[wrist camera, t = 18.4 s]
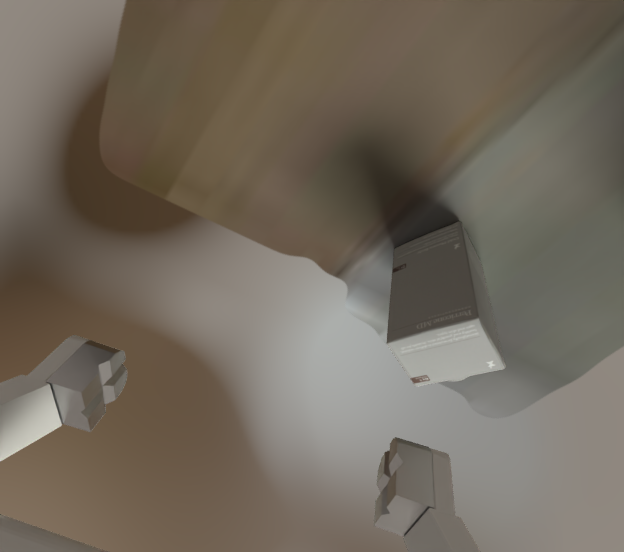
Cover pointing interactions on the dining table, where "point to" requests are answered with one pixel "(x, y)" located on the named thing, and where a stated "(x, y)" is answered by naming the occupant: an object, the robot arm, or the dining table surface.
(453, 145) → the dining table surface
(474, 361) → the skincare box
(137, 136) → the dining table surface
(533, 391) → the dining table surface
